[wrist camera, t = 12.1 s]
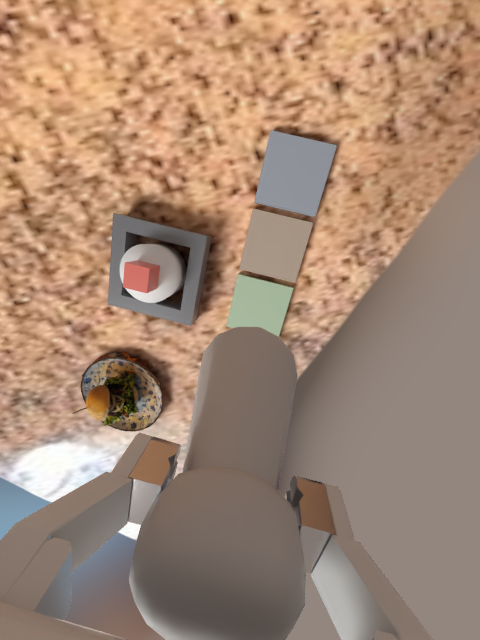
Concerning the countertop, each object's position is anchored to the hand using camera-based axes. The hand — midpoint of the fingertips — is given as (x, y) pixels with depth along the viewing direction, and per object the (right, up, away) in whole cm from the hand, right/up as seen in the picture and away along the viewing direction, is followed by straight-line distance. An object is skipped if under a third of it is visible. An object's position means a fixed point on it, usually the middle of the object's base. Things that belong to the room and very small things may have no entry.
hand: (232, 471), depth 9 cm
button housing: (-9, +11, +21) cm, 26 cm away
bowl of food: (-16, -4, +28) cm, 32 cm away
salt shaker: (+1, +3, +9) cm, 10 cm away
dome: (-9, +11, +21) cm, 25 cm away
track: (+4, +13, +19) cm, 24 cm away
